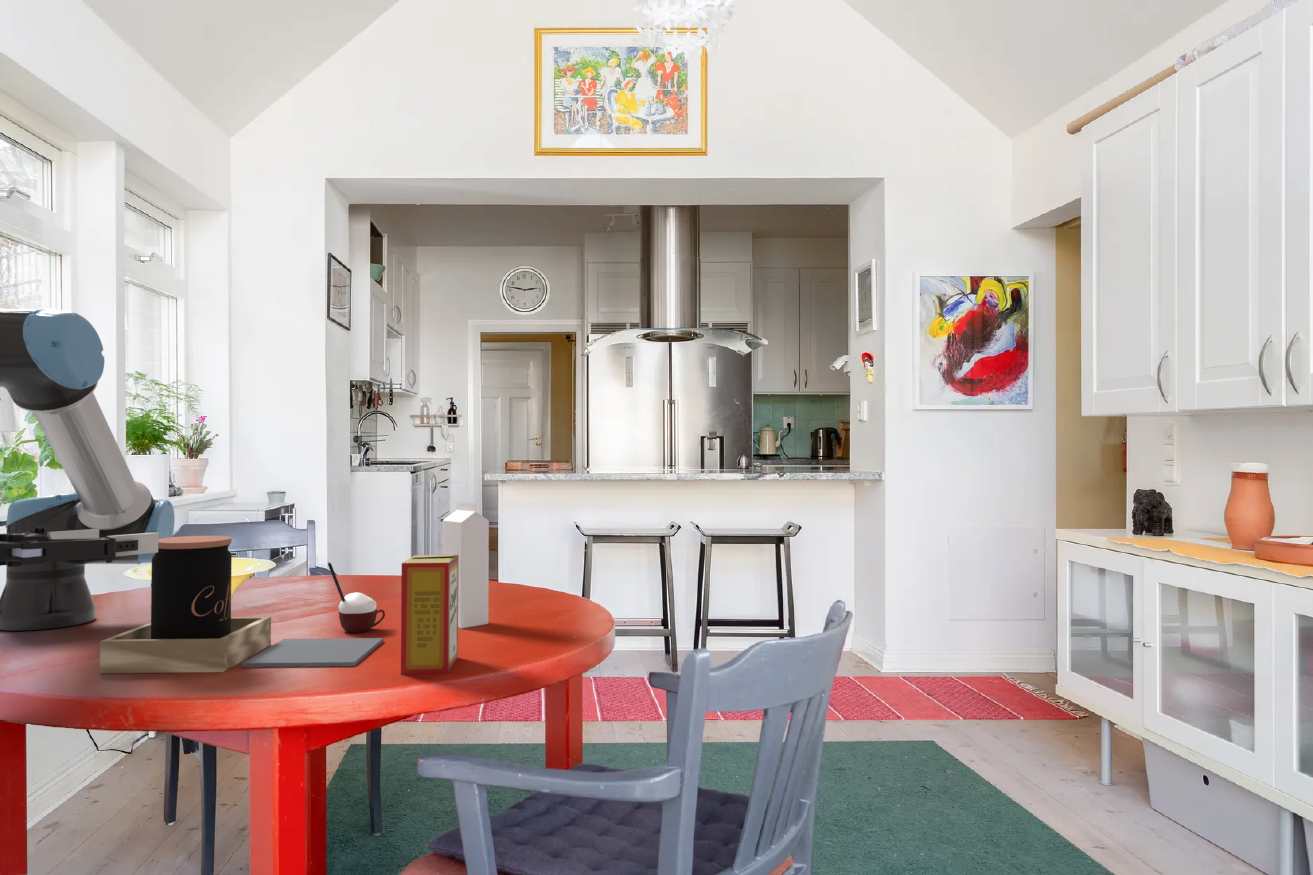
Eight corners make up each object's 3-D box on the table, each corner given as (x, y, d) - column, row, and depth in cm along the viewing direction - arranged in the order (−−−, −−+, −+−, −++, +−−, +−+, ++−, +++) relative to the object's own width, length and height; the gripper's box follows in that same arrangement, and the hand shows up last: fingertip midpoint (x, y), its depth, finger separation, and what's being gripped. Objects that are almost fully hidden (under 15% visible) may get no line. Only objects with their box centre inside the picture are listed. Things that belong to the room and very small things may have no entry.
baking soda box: (447, 673, 121) (448, 560, 122) (400, 674, 121) (401, 560, 121) (457, 657, 131) (458, 552, 131) (414, 658, 130) (414, 552, 131)
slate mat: (283, 642, 140) (283, 638, 140) (383, 641, 141) (383, 637, 141) (241, 667, 124) (241, 663, 124) (354, 666, 125) (354, 661, 125)
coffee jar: (196, 668, 124) (197, 543, 124) (132, 664, 126) (134, 541, 126) (245, 651, 134) (247, 536, 134) (186, 648, 136) (187, 534, 136)
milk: (460, 629, 152) (461, 504, 152) (441, 624, 156) (441, 502, 156) (489, 623, 156) (489, 502, 156) (469, 619, 160) (469, 501, 160)
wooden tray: (162, 645, 138) (162, 617, 138) (270, 644, 139) (271, 616, 139) (99, 673, 121) (100, 641, 121) (223, 671, 122) (223, 640, 122)
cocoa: (386, 629, 153) (390, 561, 154) (377, 635, 147) (381, 565, 148) (331, 627, 152) (336, 559, 153) (320, 633, 146) (324, 562, 147)
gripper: (-106, 579, 108) (74, 562, 127) (3, 594, 96) (182, 572, 115) (-104, 519, 108) (75, 511, 127) (5, 526, 96) (183, 516, 115)
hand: (126, 540), depth 121 cm, fingers open, 13 cm apart
